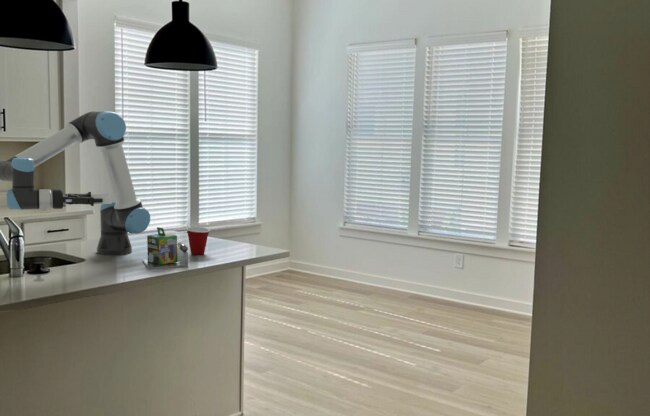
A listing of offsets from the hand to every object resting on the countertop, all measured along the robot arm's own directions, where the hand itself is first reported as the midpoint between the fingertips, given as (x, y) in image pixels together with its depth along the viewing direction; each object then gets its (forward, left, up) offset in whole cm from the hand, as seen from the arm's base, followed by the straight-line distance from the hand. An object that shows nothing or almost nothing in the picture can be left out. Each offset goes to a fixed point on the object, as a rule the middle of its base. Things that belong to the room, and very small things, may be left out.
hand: (110, 198), depth 245 cm
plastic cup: (-18, +40, -28) cm, 52 cm away
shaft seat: (0, +22, -28) cm, 35 cm away
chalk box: (0, +21, -27) cm, 34 cm away
